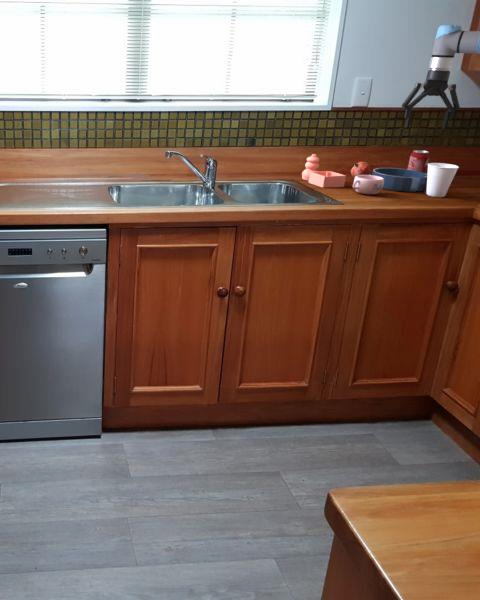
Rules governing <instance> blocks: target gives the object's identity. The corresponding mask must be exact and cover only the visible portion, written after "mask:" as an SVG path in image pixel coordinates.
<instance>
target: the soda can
mask: <svg viewBox="0 0 480 600" xmlns="http://www.w3.org/2000/svg"><path fill="white" fill-rule="evenodd" d="M429 153H430V152H429V151H427V150H423V149H422V150H420V149H414V150H413V151H412V153H411V154H410V155H409V160H408V163H407V168H406V169H408V170H415V171H419V172H423V173H426V172H427V170H428V163H429V160H430V154H429ZM426 174H427V173H426Z"/></svg>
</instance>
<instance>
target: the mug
mask: <svg viewBox="0 0 480 600" xmlns="http://www.w3.org/2000/svg"><path fill="white" fill-rule="evenodd" d="M383 185H384V179H383V178H382V177H379V176H373V175H372V174H369V175H357V176H356V177H355V178H354V179H353V184H352V188H353V190H354V191H355V192H357V193H359V194H362V195H368V196H371V195H377V194H379V193H380V192H382V190H383V189H382V188H383Z"/></svg>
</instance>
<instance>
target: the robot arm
mask: <svg viewBox="0 0 480 600" xmlns="http://www.w3.org/2000/svg"><path fill="white" fill-rule="evenodd" d="M456 54H468V55H469V54H471V55H480V30H462V25H461V24H442V25H440V26H439V27H438V29H437V32H436V36H435V37H434V43H433V48H432V53H431V56H430V61H429V66H428V70H427V73H426V77H425V82H424V83H421V82H416V83H415V85H414V88H413V89H412V91H410V93H409V95H408V96H407V97H406V98H405V100H404V101H403V103H401V107H402V108H404V109H405V113H404V119H405V124H404V128H410V125H411V122H412V121H411V120H412V117H413V112H414V109H413V108H414V107H415V106H416V105H417V104H418V103H420V102H421V101H422V100H423V99H425V98H426V97H427V96H429V97H433V96H434V97H440V98H441V100H442V102H443V103H444V105H445V107H446V108H447V110H446V111H445V113H444V118H443V121H442V125H441V129H442V130H447V128H448V125H449V121H451V120H452V118H453V114H454V113H455V112H456V111H459V110H460V109H461V107H460V106H461V105H460V102H459V98H458V94H457V91H456V90H457V84H456V83H451V84H449V79H450V75H451V70H452V67H453V64H454V59H455V55H456ZM422 88H423V91H422V92H420V94H419V95H418V96H417V97H416V95H417V94H418V93H419V91H420V90H421V89H422ZM446 90H448V91H449V95H450V98H451V101H450V99H449V97H448V95H447V93H446V92H445V91H446ZM451 102H452V103H451Z"/></svg>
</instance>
